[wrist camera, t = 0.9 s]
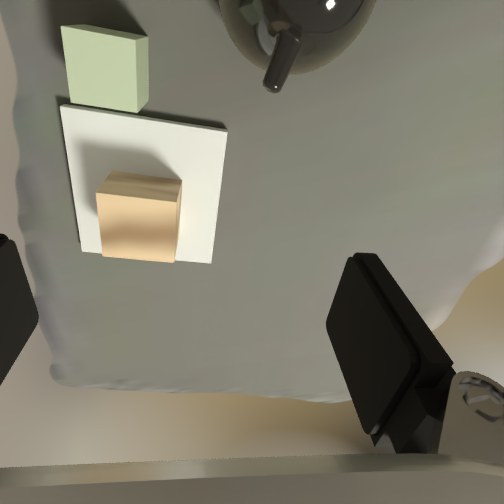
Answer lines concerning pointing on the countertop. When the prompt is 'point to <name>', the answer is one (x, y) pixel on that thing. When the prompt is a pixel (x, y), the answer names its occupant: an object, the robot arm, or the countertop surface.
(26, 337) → the robot arm
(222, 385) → the countertop surface
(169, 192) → the oak block
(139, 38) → the sage cube
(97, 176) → the building board
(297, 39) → the pump dispenser
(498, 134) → the countertop surface
